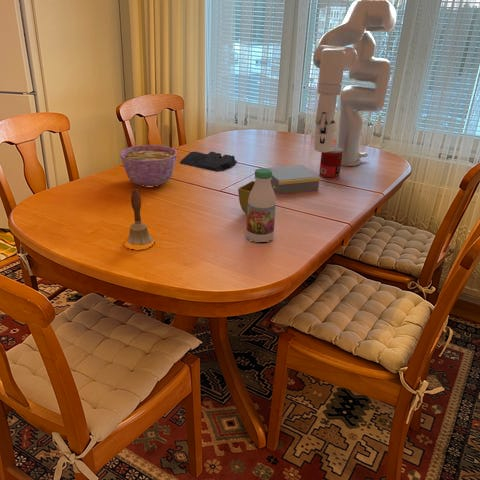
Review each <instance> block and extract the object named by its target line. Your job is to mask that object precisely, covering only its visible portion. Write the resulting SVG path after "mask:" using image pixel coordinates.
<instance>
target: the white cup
mask: <svg viewBox="0 0 480 480" xmlns="http://www.w3.org/2000/svg"><path fill="white" fill-rule="evenodd" d="M336 123H337V122H336V121H335V120H334V119H333V121H332V123H331V124H330V125H329V126H328V125H327V124H325V127H326V130H327V128H328V130H327V135H326V134H319V129H320V126H321V123H320V122H319V124H317V125H316V124H315V132H314V133H315V134H314V151H315V152H317V153H322V152H330V151H331V146H333V139H334V133H335V127H336ZM325 133H326V132H325ZM320 136H321V140H322V142H323V139H324V138H325V142H324V144H321V143H320Z"/></svg>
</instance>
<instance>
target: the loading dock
mask: <svg viewBox="0 0 480 480" xmlns="http://www.w3.org/2000/svg"><path fill="white" fill-rule="evenodd" d="M264 168H265V169H270V170H271V171H272V179H271V185H272V186H275V192H274V193H276V194H277V195H282V194H290V193H291V194H292V193H300V192H309V191H318V190H319V184H320V181H321V176H320V175H318V174H317V173H315V172H313V171H312V170H310V169H309V168H307V167H306V166H304V165H303V164H298V165H297V164H296V165H286V166H274V167H273V166H272V167H264Z"/></svg>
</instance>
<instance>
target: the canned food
mask: <svg viewBox="0 0 480 480" xmlns="http://www.w3.org/2000/svg"><path fill="white" fill-rule="evenodd" d="M342 154H343V149H342V148H340V147H337V146H336V145H332V146H331V151H330V152H320V161H319V162H320V163H319V170H318V171H319V173H318V174H319V177H322V178H324V179H337V178H339V176H340V174H341V173H340V172H341V167H342V165H341V161H342Z"/></svg>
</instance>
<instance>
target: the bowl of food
mask: <svg viewBox="0 0 480 480" xmlns="http://www.w3.org/2000/svg"><path fill="white" fill-rule="evenodd" d="M119 155H120V159H121V162H122V166H123V168H124V171H125V173H126V176H127V177H128V179H129V180H130V181H131V182H133V183H134V184H136V185H139V186H141V185H144V186H156V185H160V184H161V185H163V184H164V183H167V182H169V180H171V178H172V176H173V173H174V170H175V165H176V160H177V155H178V151H177V150H176V149H175V148H172V147H171V146H167V145H160V144H159V145H158V144H157V145H156V144H144V145H143V144H142V145H134V146H129V147H127V148H124V149H123V150H121V151H120V152H119ZM161 185H160V186H161Z"/></svg>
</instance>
